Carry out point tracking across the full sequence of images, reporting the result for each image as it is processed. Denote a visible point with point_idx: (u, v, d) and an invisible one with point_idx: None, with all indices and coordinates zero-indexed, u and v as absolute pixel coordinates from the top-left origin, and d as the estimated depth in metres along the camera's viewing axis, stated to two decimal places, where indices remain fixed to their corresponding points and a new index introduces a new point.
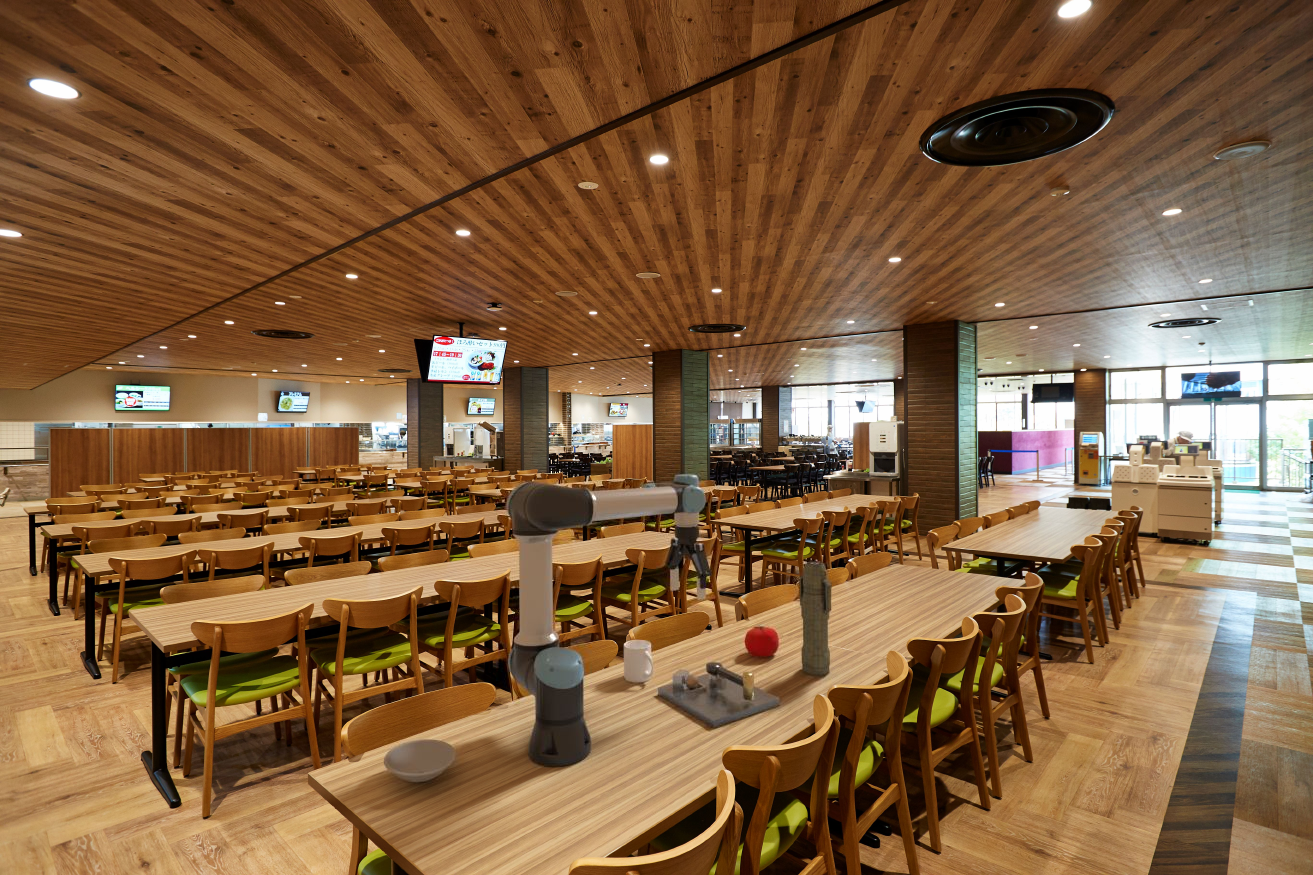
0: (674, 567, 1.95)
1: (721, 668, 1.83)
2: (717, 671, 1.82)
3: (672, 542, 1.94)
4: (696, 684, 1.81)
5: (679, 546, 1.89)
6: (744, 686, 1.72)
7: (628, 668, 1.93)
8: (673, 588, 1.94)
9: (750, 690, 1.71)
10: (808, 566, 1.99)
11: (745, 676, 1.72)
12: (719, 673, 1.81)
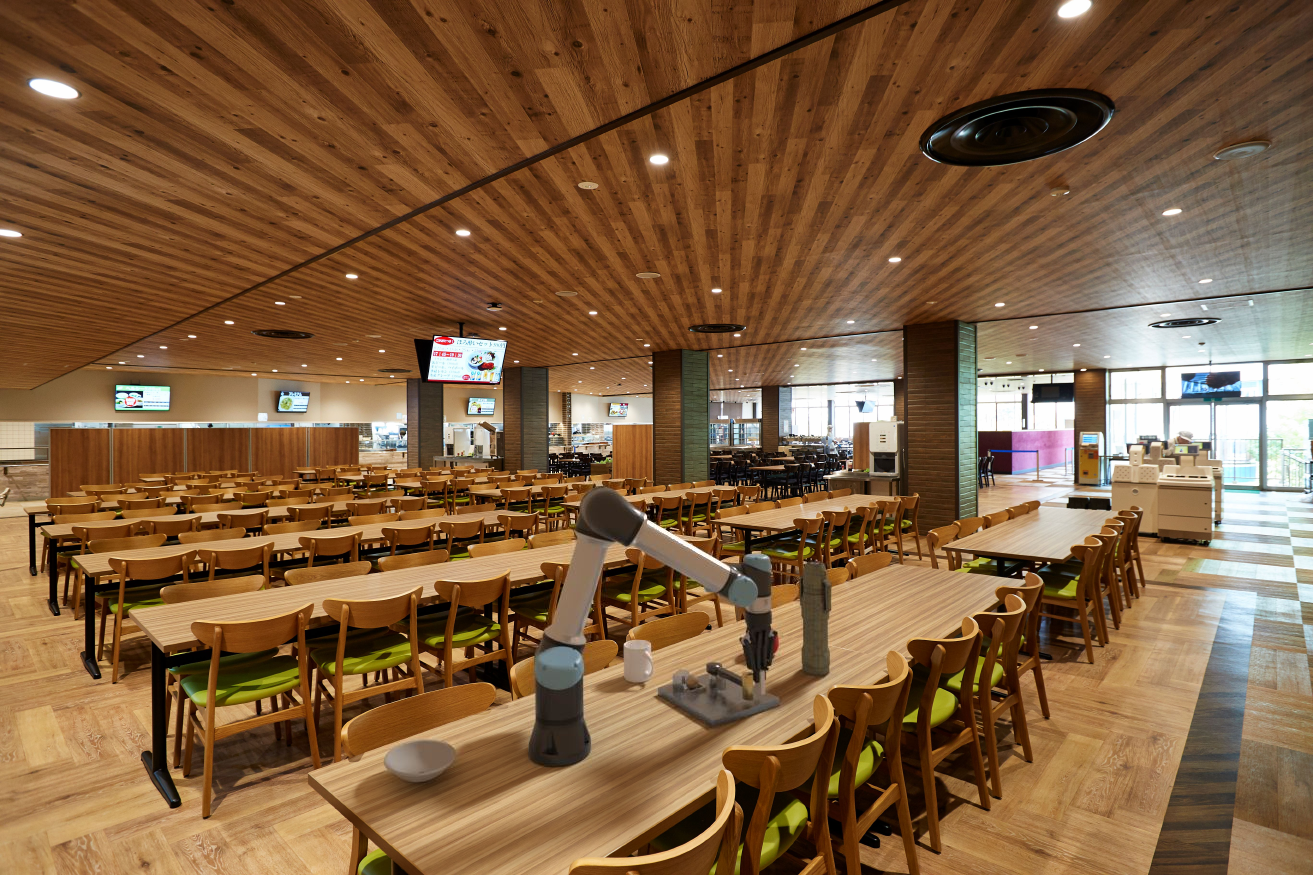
0: (761, 667, 1.75)
1: (721, 668, 1.83)
2: (717, 671, 1.82)
3: None
4: (696, 684, 1.81)
5: None
6: (743, 686, 1.72)
7: (628, 668, 1.93)
8: None
9: (749, 690, 1.71)
10: (808, 566, 1.99)
11: (744, 676, 1.71)
12: (719, 673, 1.81)
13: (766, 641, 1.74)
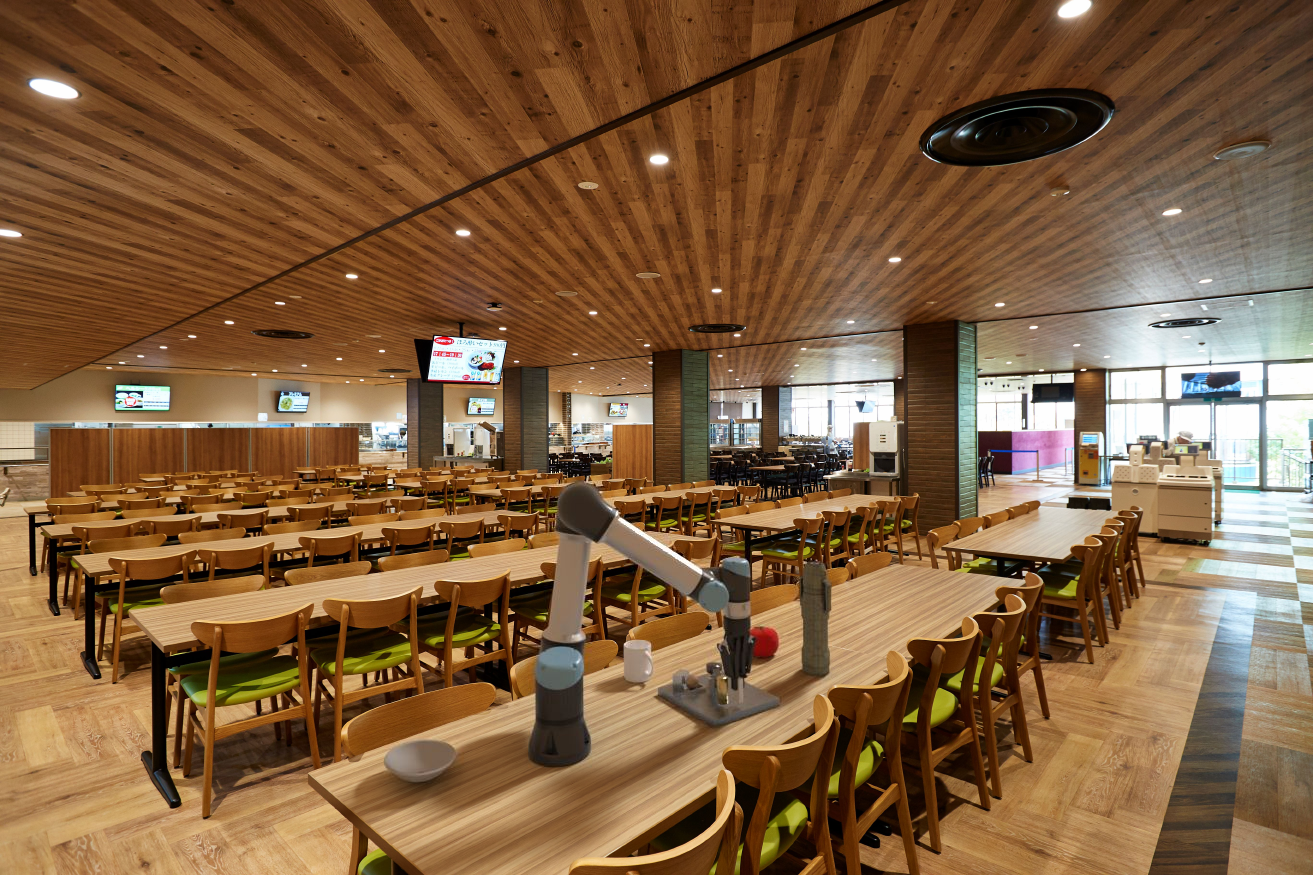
0: (740, 675, 1.71)
1: (716, 669, 1.82)
2: (712, 671, 1.82)
3: None
4: (696, 684, 1.81)
5: None
6: (717, 689, 1.70)
7: (628, 668, 1.93)
8: None
9: (721, 694, 1.69)
10: (808, 566, 1.99)
11: (717, 679, 1.70)
12: (712, 673, 1.81)
13: (744, 648, 1.70)
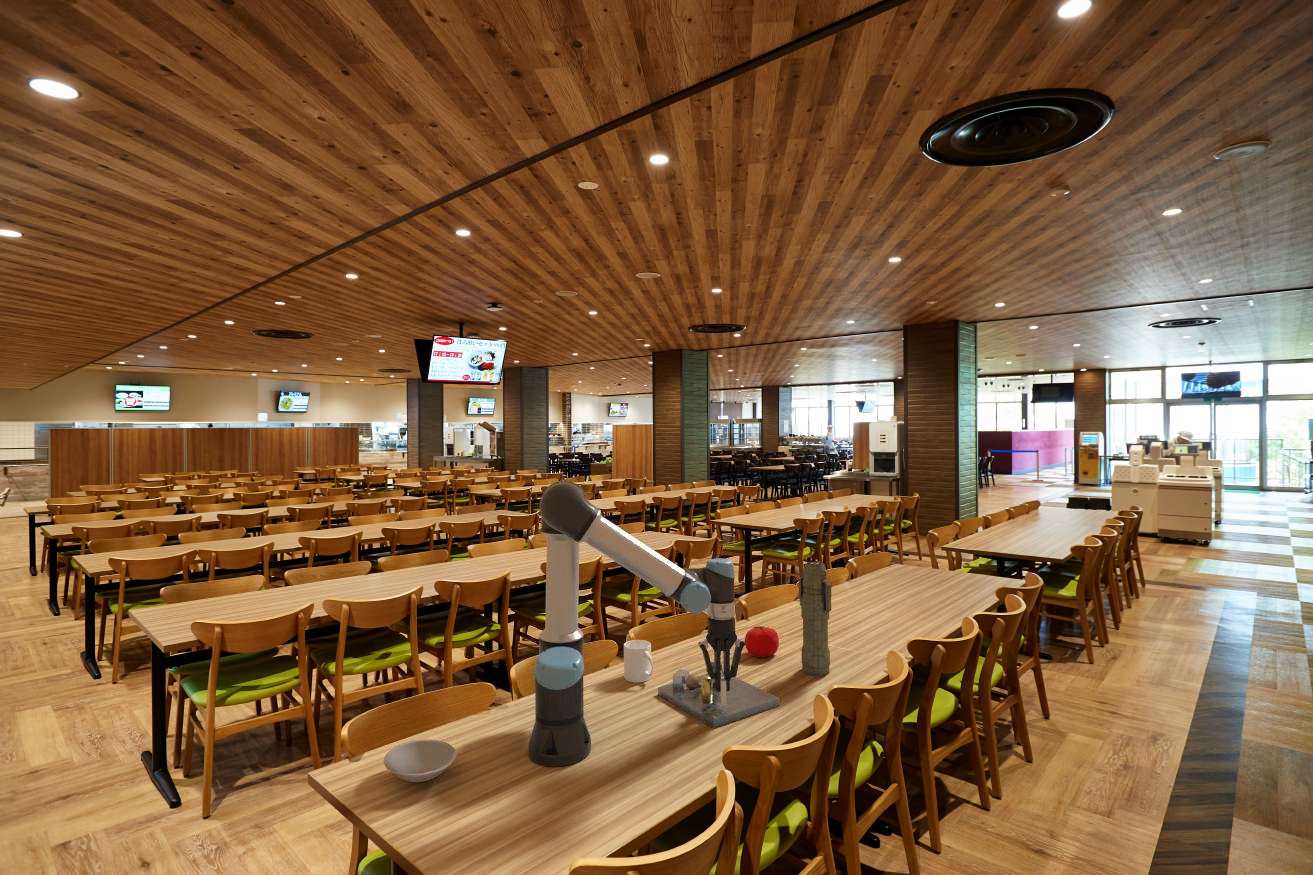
0: (724, 677, 1.69)
1: (713, 669, 1.82)
2: None
3: None
4: (696, 684, 1.81)
5: None
6: (701, 688, 1.71)
7: (628, 668, 1.93)
8: None
9: (703, 694, 1.69)
10: (808, 566, 1.99)
11: (701, 678, 1.70)
12: None
13: (727, 650, 1.68)
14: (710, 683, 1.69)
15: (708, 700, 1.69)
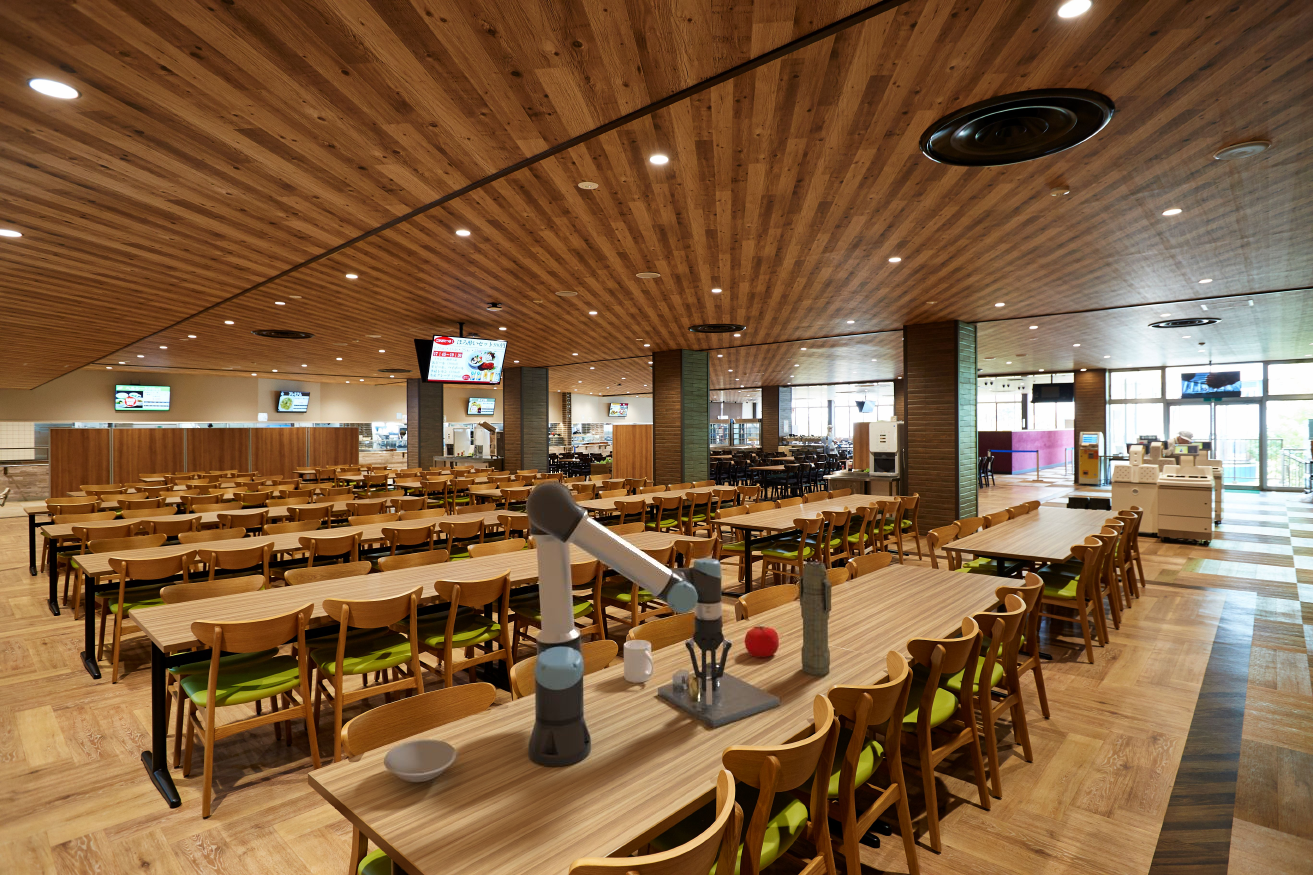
0: (711, 677, 1.69)
1: None
2: None
3: None
4: None
5: None
6: None
7: (628, 668, 1.93)
8: None
9: (690, 692, 1.71)
10: (808, 566, 1.99)
11: (689, 676, 1.72)
12: None
13: (713, 650, 1.68)
14: (697, 682, 1.70)
15: (694, 698, 1.70)
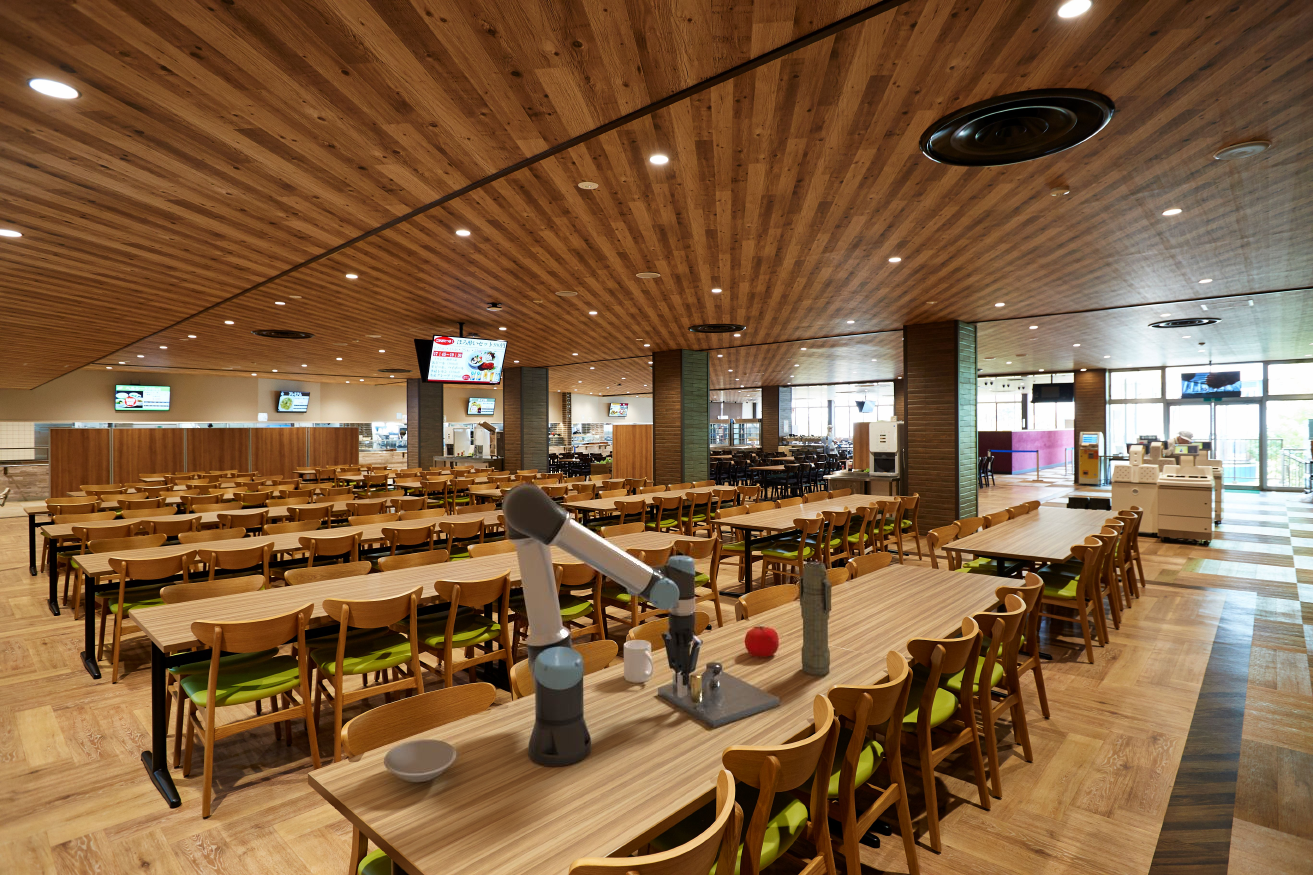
0: None
1: (711, 669, 1.82)
2: None
3: None
4: None
5: None
6: None
7: (628, 668, 1.93)
8: None
9: (692, 692, 1.70)
10: (808, 566, 1.99)
11: None
12: None
13: (682, 645, 1.72)
14: (698, 682, 1.70)
15: (696, 699, 1.70)
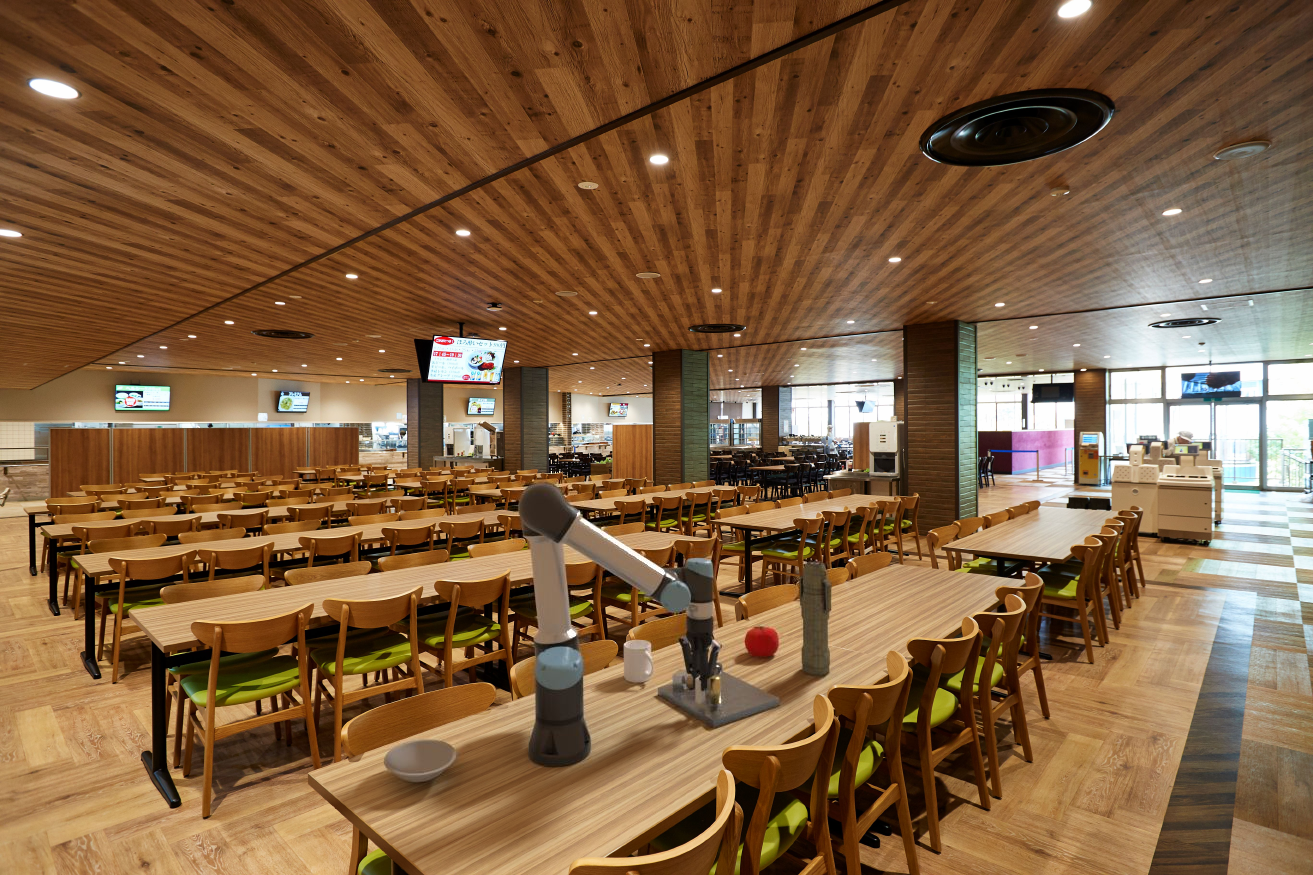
0: None
1: (715, 669, 1.82)
2: None
3: None
4: None
5: None
6: (710, 689, 1.70)
7: (628, 668, 1.93)
8: None
9: (713, 694, 1.69)
10: (808, 566, 1.99)
11: (710, 679, 1.70)
12: None
13: (700, 650, 1.68)
14: (719, 683, 1.69)
15: (717, 700, 1.69)
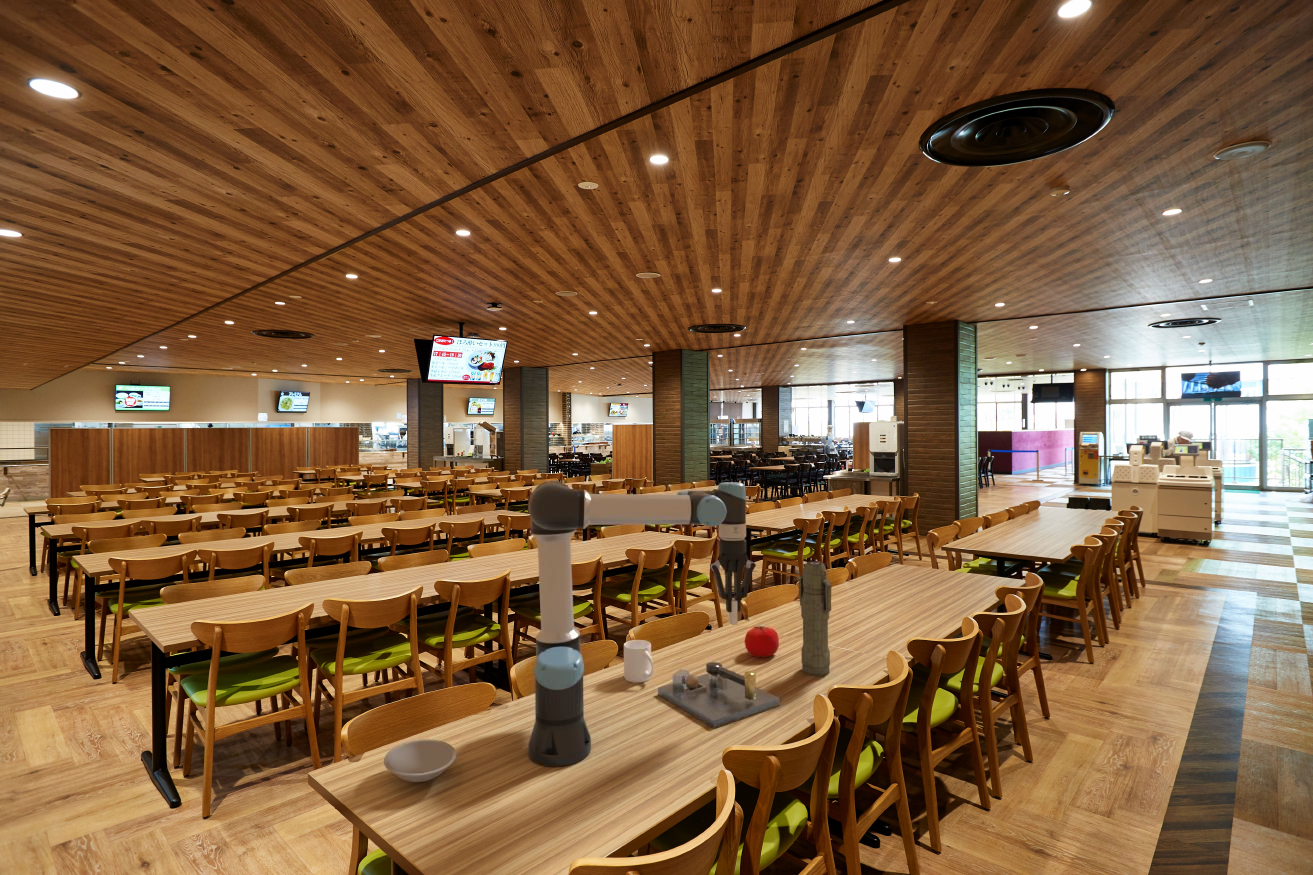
0: (735, 598, 1.72)
1: (721, 668, 1.83)
2: (717, 671, 1.82)
3: None
4: (696, 684, 1.81)
5: None
6: (746, 686, 1.72)
7: (628, 668, 1.93)
8: None
9: (752, 690, 1.72)
10: (808, 566, 1.99)
11: (747, 675, 1.72)
12: (720, 673, 1.82)
13: (739, 571, 1.70)
14: None
15: (755, 694, 1.72)
